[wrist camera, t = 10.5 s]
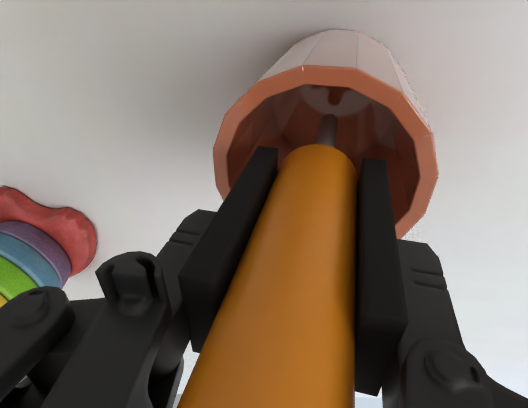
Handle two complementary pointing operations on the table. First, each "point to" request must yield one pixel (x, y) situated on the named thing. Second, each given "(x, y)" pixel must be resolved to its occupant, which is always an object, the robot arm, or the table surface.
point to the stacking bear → (40, 244)
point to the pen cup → (344, 108)
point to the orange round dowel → (290, 294)
